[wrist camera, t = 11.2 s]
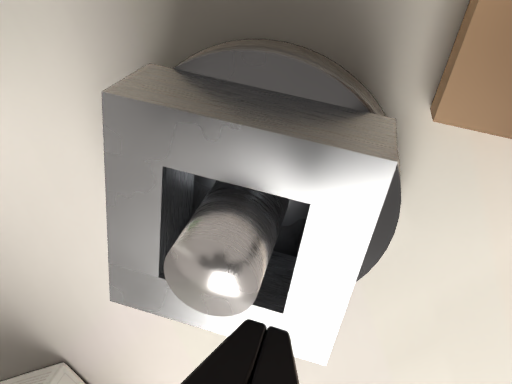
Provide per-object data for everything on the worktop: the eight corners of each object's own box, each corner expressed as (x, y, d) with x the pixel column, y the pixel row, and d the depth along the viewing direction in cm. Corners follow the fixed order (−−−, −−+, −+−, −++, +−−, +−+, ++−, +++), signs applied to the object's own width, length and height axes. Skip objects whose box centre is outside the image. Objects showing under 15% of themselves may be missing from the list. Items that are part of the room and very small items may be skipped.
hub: (442, 75, 13) (472, 162, 8) (358, 303, 18) (347, 440, 13) (141, 11, 14) (18, 56, 9) (139, 242, 19) (58, 346, 14)
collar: (396, 118, 12) (397, 161, 10) (334, 305, 16) (325, 366, 14) (149, 63, 13) (101, 91, 11) (146, 251, 17) (110, 300, 15)
